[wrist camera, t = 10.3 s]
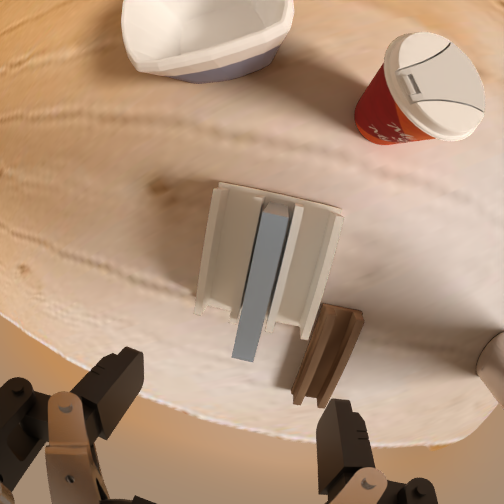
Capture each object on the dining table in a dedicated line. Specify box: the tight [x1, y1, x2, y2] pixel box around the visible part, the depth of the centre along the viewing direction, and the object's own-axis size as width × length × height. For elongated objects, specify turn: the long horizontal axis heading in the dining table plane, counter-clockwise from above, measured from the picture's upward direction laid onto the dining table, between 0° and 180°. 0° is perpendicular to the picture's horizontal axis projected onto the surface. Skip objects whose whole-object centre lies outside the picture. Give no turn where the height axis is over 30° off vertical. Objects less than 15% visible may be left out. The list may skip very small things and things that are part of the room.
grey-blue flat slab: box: [232, 202, 289, 362], centre depth 25 cm, size 2×12×10 cm, turn 168°
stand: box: [291, 303, 364, 408], centre depth 32 cm, size 5×14×3 cm, turn 168°
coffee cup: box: [354, 32, 485, 145], centre depth 19 cm, size 8×8×15 cm
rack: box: [194, 182, 344, 340], centre depth 29 cm, size 13×14×5 cm
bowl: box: [121, 0, 294, 84], centre depth 20 cm, size 15×15×11 cm
